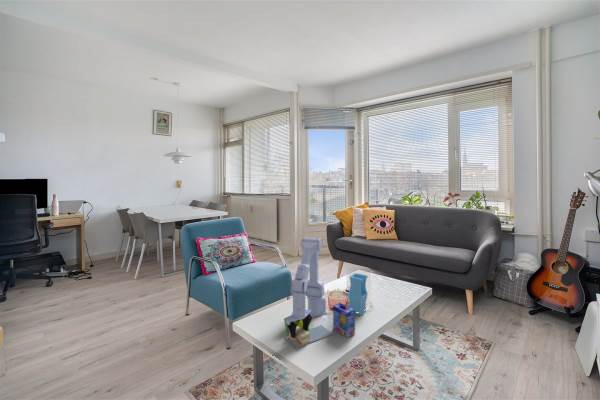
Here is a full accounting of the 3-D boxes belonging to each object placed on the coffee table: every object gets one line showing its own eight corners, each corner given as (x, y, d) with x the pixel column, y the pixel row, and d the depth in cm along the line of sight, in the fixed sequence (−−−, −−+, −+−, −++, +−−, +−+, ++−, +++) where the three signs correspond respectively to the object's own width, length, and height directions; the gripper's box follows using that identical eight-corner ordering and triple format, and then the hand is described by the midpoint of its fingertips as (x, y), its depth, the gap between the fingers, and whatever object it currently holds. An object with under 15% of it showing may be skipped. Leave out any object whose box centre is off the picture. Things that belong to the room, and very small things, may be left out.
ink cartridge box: (332, 329, 143) (332, 300, 142) (340, 325, 147) (340, 297, 146) (347, 338, 136) (347, 308, 134) (355, 334, 139) (355, 304, 138)
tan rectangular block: (309, 341, 132) (309, 332, 132) (302, 345, 129) (302, 336, 129) (296, 333, 139) (296, 325, 138) (289, 336, 136) (289, 328, 135)
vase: (360, 315, 157) (361, 279, 155) (347, 311, 162) (348, 276, 160) (367, 310, 163) (367, 275, 161) (354, 306, 168) (354, 272, 166)
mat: (321, 325, 147) (321, 324, 147) (333, 334, 139) (333, 333, 139) (284, 338, 135) (284, 337, 135) (295, 348, 127) (295, 347, 127)
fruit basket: (298, 309, 151) (313, 310, 143) (302, 327, 149) (317, 329, 141) (281, 316, 143) (295, 317, 135) (284, 335, 142) (299, 337, 133)
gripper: (304, 298, 140) (304, 325, 142) (281, 307, 131) (281, 336, 132) (315, 302, 135) (315, 330, 136) (291, 312, 125) (291, 343, 127)
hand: (299, 334), depth 134 cm, fingers open, 7 cm apart
